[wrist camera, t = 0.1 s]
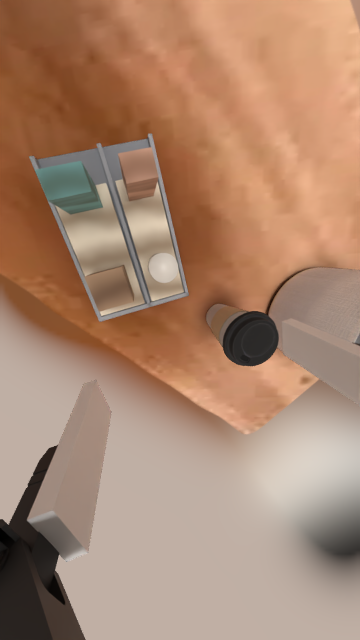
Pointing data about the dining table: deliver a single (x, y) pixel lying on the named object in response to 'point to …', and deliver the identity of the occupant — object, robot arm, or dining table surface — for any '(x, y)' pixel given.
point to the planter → (321, 302)
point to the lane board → (108, 170)
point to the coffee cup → (243, 334)
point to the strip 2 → (146, 216)
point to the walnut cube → (110, 288)
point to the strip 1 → (89, 222)
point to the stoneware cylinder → (163, 267)
